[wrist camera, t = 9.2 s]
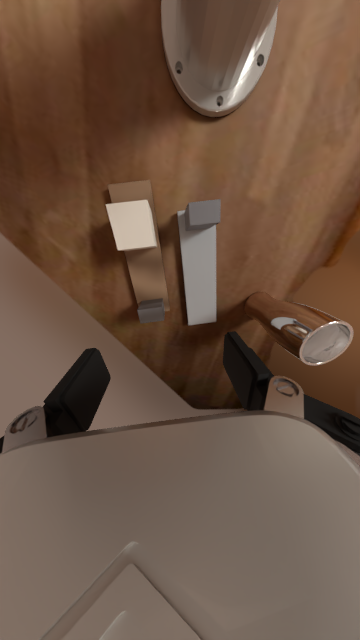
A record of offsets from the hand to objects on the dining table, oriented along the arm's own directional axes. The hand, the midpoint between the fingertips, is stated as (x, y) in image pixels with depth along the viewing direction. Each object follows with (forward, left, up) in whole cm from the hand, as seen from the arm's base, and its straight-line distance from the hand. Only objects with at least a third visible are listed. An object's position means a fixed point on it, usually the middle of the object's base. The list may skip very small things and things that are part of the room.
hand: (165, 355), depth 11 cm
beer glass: (+6, +19, -20) cm, 28 cm away
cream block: (-10, -3, -18) cm, 21 cm away
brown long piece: (-6, -3, -20) cm, 21 cm away
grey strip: (-2, +7, -20) cm, 21 cm away
